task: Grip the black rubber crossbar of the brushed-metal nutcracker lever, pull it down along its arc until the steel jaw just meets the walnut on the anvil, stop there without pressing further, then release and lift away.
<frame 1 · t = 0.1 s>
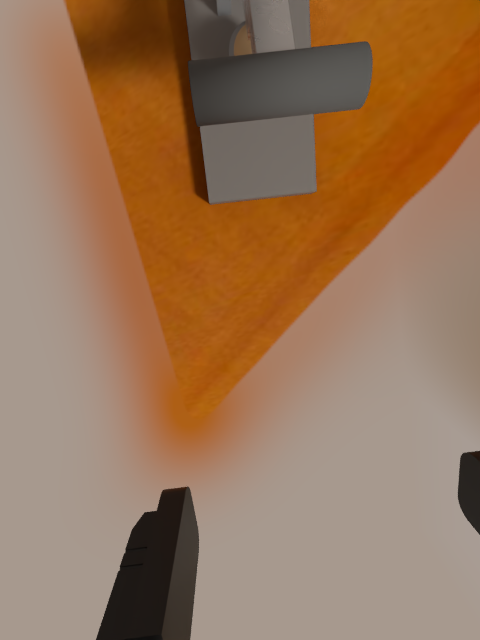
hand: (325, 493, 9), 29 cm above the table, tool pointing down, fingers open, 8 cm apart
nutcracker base: (245, 7, 30), on the table
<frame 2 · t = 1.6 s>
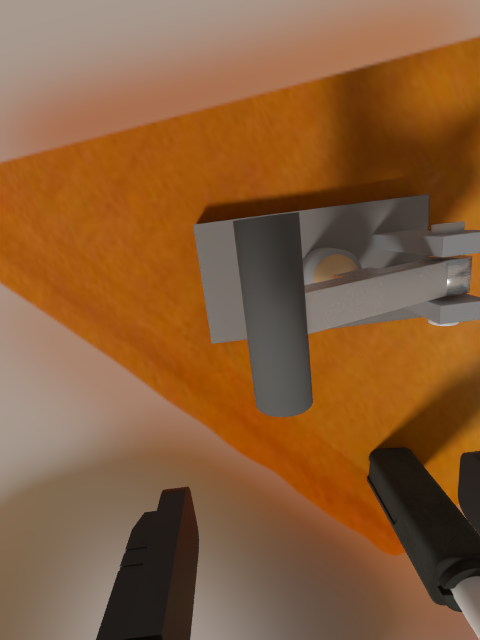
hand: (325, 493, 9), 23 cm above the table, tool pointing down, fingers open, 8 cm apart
lever: (366, 292, 19), point 12 cm above the table, hinge at -22.0°
black and grey rod: (388, 465, 38), on the table
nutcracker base: (379, 261, 31), on the table
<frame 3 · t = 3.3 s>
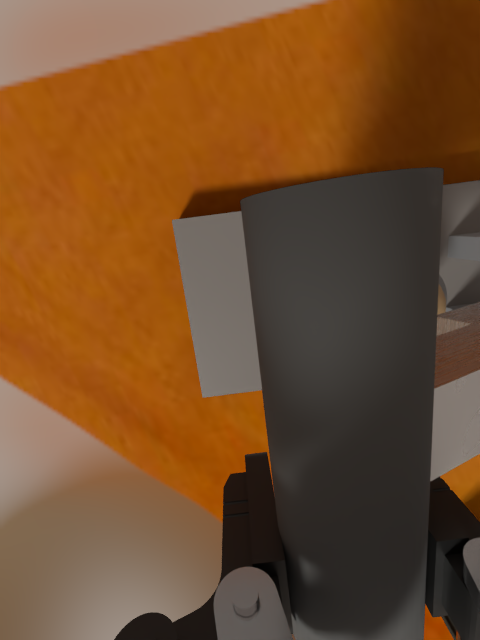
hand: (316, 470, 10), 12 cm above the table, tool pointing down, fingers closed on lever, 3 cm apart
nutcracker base: (449, 274, 21), on the table
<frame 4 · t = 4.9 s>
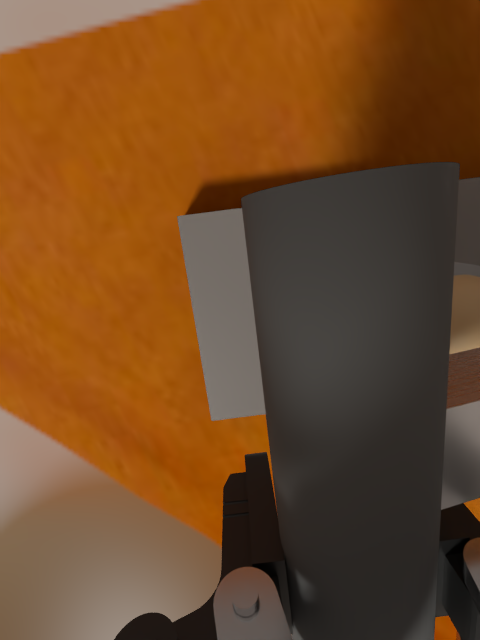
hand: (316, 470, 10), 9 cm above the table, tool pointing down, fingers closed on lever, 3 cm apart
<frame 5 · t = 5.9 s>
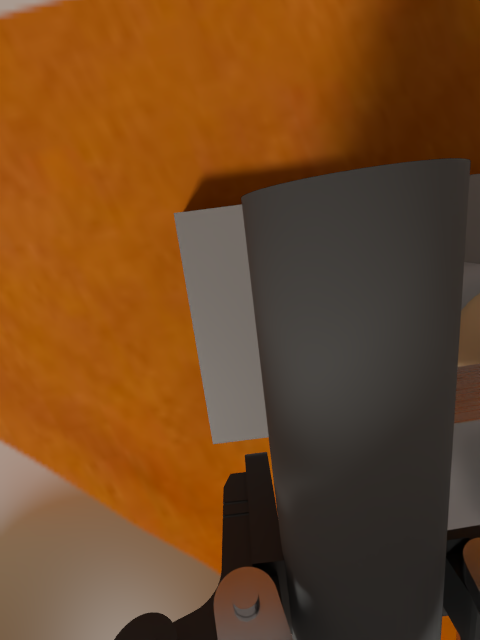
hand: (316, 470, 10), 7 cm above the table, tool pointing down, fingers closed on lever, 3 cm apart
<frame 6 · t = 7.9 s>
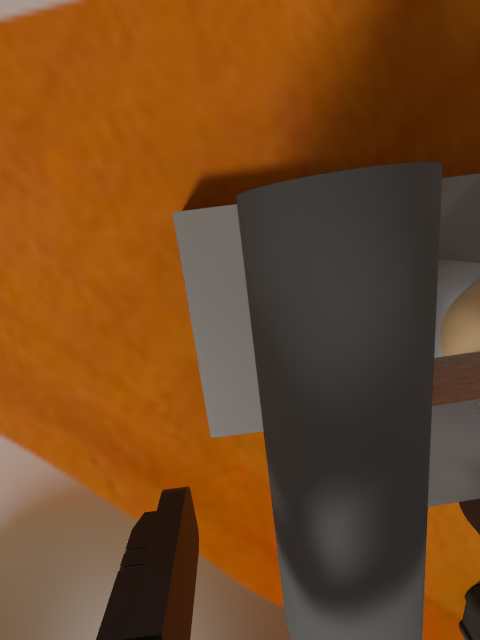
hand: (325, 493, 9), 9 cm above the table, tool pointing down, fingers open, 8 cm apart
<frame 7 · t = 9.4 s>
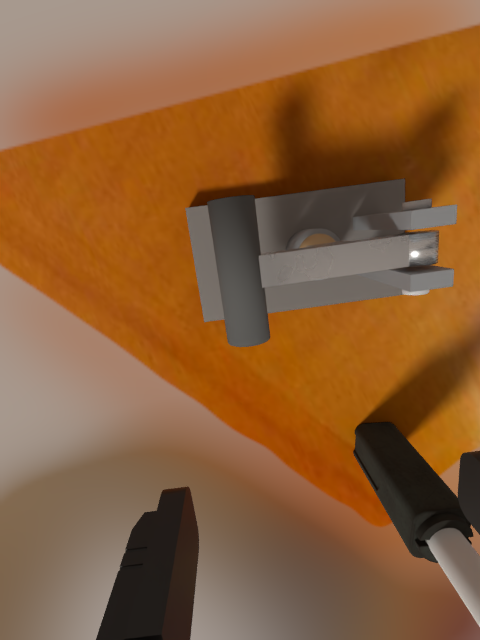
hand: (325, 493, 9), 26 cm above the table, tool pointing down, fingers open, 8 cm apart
lever: (326, 260, 24), point 10 cm above the table, hinge at -2.2°
black and grey rod: (373, 439, 40), on the table
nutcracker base: (360, 243, 33), on the table
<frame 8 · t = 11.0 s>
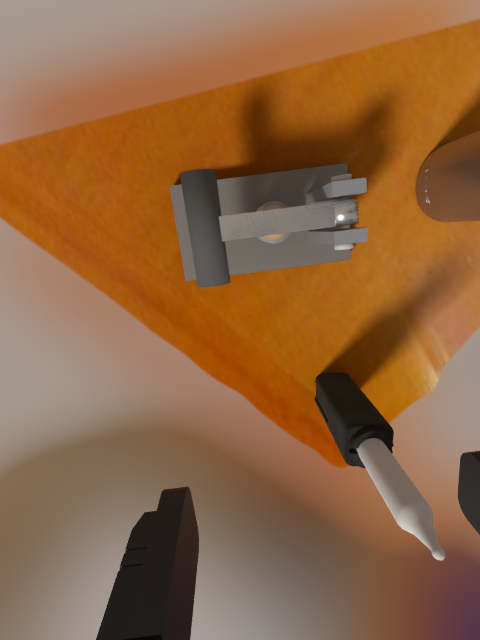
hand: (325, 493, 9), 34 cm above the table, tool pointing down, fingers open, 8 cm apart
lever: (273, 222, 31), point 10 cm above the table, hinge at -2.2°
black and grey rod: (331, 388, 47), on the table
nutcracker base: (315, 217, 40), on the table
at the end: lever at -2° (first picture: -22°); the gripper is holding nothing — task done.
